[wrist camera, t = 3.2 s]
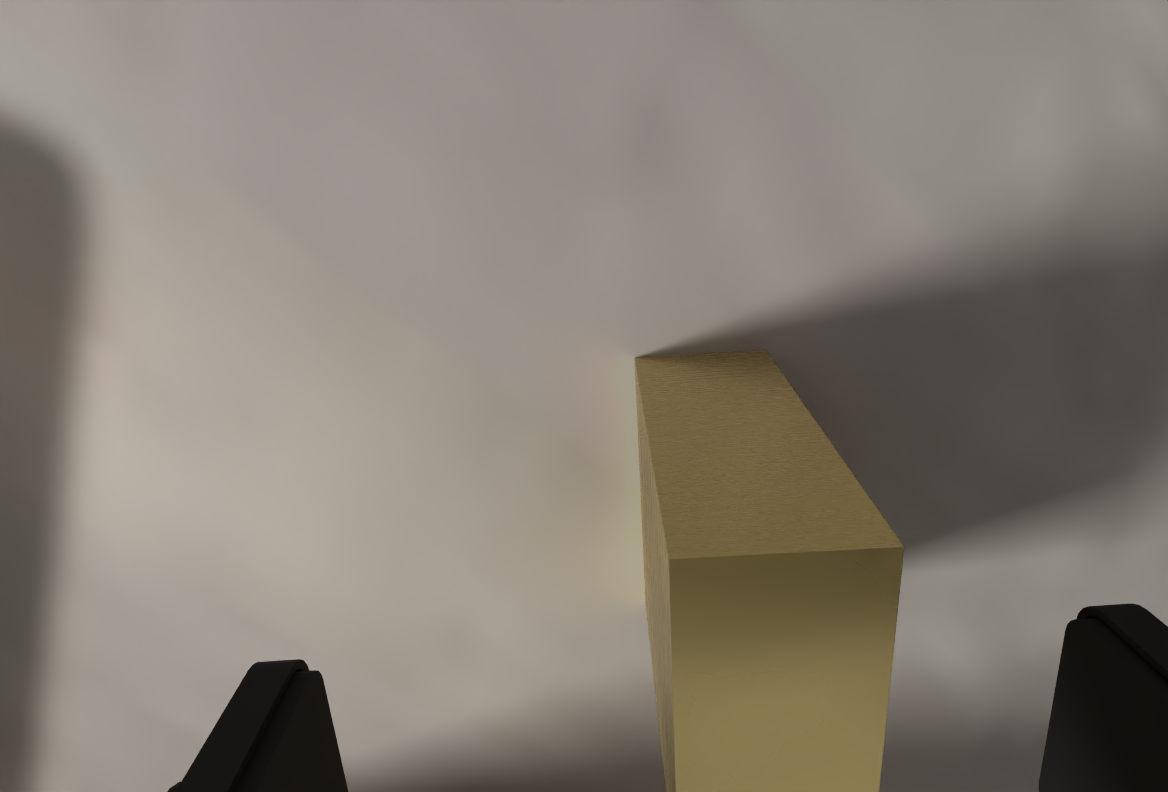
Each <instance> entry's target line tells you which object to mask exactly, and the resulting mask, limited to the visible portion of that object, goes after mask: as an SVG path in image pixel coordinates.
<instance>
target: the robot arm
mask: <svg viewBox="0 0 1168 792" xmlns="http://www.w3.org/2000/svg"><path fill="white" fill-rule="evenodd" d="M168 792H348V789H347V784H346V780H345V775H344V771H343V766H342V762H341V757H340V753H339V748H338V744H337V739H336V735H335V730H334V726H333V722H332V717H331V713H330V708H329V704H328V699H327V695H326V690H325V686H324V681H323V678H322V675H321V673H320V672H319V671H316V670H315V671H309V669H308V666H307V664H306V663H305V661H303V660H300V659H299V660H284V661H269V662H257V663H255V664H253V665H252V666H251V668H250V669H249V670H248V672H247V673H246V675H245V677H244V678H243V680H242V682H241V683H240V685H239V687H238V688H237V690H236V692H235V693H234V695H233V697H232V698H231V700H230V702H229V703H228V705H227V707H226V708H225V710H224V712H223V713H222V715H221V717H220V718H219V720H218V722H217V723H216V725H215V727H214V728H213V730H212V732H211V733H210V735H209V737H208V738H207V740H206V742H205V743H204V745H203V747H202V748H201V750H200V752H199V753H198V755H197V757H196V758H195V760H194V762H193V763H192V765H191V767H190V768H189V770H188V772H187V774H186V775H185V777H184V779H183V780H182V782H179V783H177V784H176V785H174V786H173V787H171V788H170V789H169V790H168ZM1039 792H1168V627H1167V626H1166V625H1165V624H1164V623H1162V622H1161V621H1160V620H1159V619H1158V618H1156V617H1155V616H1154V615H1153V614H1152V613H1150V612H1149V611H1148V610H1146V609H1145V608H1143V607H1142V606H1140V605H1136V604H1118V605H1103V606H1089V607H1086V608H1083V609H1082V610H1081V611H1080V612H1079V613H1078V616H1077V619H1076V620H1072V621H1070V622H1069V623H1068V624H1067V627H1066V630H1065V636H1064V642H1063V647H1062V653H1061V659H1060V665H1059V670H1058V676H1057V682H1056V688H1055V693H1054V699H1053V705H1052V711H1051V716H1050V722H1049V728H1048V734H1047V739H1046V745H1045V751H1044V757H1043V762H1042V768H1041V774H1040V780H1039Z"/></svg>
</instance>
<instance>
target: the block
mask: <svg viewBox="0 0 1168 792" xmlns="http://www.w3.org/2000/svg"><path fill="white" fill-rule="evenodd" d="M634 359H635V381H636V403H637V425H638V447H639V470H640V492H641V514H642V536H643V558H644V580H645V603H646V612H647V621H648V631H649V640H650V649H651V658H652V667H653V676H654V686H655V695H656V704H657V713H658V722H659V731H660V741H661V750H662V759H663V768H664V777H665V787H666V792H879V787H880V778H881V768H882V758H883V748H884V739H885V729H886V719H887V710H888V700H889V690H890V680H891V671H892V661H893V651H894V642H895V632H896V622H897V613H898V603H899V593H900V583H901V574H902V564H903V554H904V546H903V544H902V543H901V542H900V540H899V539H898V537H897V536H896V534H895V533H894V532H893V530H892V529H891V527H890V526H889V525H888V523H887V522H886V520H885V519H884V517H883V516H882V515H881V513H880V512H879V510H878V509H877V507H876V506H875V505H874V503H873V502H872V500H871V499H870V498H869V496H868V495H867V493H866V492H865V490H864V489H863V488H862V486H861V485H860V483H859V482H858V480H857V479H856V478H855V476H854V475H853V473H852V472H851V471H850V469H849V468H848V466H847V465H846V463H845V462H844V461H843V459H842V458H841V456H840V455H839V453H838V452H837V451H836V449H835V448H834V446H833V445H832V444H831V442H830V441H829V439H828V438H827V436H826V435H825V434H824V432H823V431H822V429H821V428H820V426H819V425H818V424H817V422H816V421H815V419H814V418H813V417H812V415H811V414H810V412H809V411H808V409H807V408H806V407H805V405H804V404H803V402H802V401H801V399H800V398H799V397H798V395H797V394H796V392H795V391H794V389H793V388H792V387H791V385H790V384H789V382H788V381H787V380H786V378H785V377H784V375H783V374H782V372H781V371H780V370H779V368H778V367H777V365H776V364H775V362H774V361H773V360H772V358H771V357H770V355H769V354H768V353H767V351H766V350H753V351H737V352H720V353H704V354H687V355H671V356H654V357H638V358H634Z"/></svg>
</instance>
